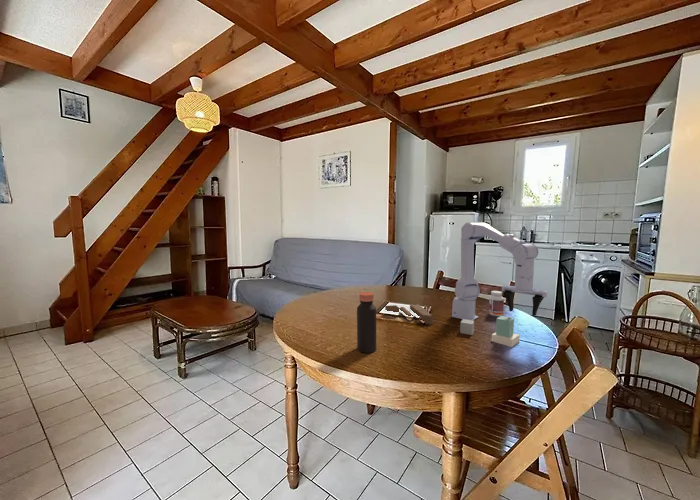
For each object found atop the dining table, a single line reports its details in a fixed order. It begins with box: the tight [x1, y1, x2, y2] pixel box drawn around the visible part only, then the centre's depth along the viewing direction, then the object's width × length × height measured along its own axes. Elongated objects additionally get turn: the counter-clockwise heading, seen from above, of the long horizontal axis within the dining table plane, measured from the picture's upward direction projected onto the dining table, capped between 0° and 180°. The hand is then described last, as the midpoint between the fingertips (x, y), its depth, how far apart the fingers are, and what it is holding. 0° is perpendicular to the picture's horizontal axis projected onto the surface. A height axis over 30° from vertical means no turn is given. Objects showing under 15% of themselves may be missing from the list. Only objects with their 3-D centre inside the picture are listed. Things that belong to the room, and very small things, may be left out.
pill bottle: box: [488, 290, 505, 317], centre depth 139 cm, size 6×6×11 cm
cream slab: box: [491, 331, 521, 348], centre depth 109 cm, size 7×7×3 cm
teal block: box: [495, 315, 515, 337], centre depth 109 cm, size 4×4×6 cm
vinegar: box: [356, 291, 377, 354], centre depth 103 cm, size 7×7×20 cm
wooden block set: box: [384, 303, 434, 325], centre depth 135 cm, size 17×6×18 cm
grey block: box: [459, 319, 475, 336], centre depth 118 cm, size 4×4×4 cm
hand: (522, 312), depth 109 cm, fingers open, 7 cm apart
